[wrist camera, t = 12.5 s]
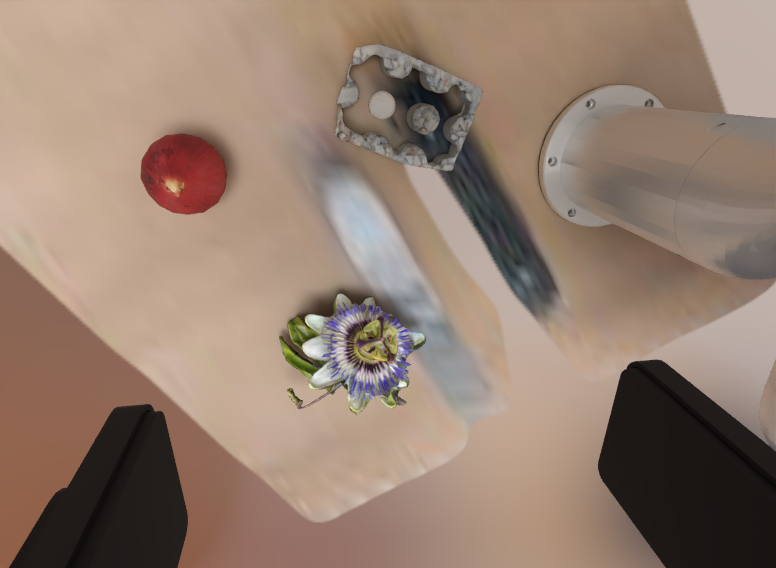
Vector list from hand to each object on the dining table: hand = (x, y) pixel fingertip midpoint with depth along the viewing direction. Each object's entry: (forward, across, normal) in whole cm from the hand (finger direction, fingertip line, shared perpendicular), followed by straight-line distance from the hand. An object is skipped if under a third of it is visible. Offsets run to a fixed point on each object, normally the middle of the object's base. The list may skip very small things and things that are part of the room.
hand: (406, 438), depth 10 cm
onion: (+34, +11, 0) cm, 35 cm away
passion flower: (+34, -1, +17) cm, 38 cm away
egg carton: (+34, -6, -4) cm, 35 cm away
